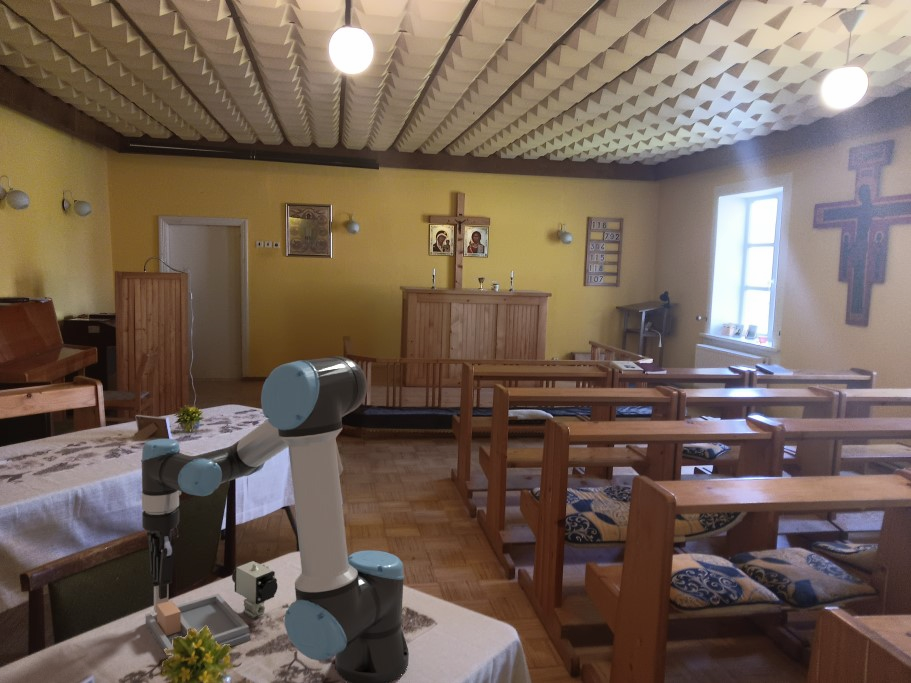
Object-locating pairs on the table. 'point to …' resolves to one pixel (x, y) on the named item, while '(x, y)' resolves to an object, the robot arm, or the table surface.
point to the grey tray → (204, 622)
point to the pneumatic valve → (254, 586)
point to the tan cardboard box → (169, 617)
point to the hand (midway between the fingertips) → (161, 609)
